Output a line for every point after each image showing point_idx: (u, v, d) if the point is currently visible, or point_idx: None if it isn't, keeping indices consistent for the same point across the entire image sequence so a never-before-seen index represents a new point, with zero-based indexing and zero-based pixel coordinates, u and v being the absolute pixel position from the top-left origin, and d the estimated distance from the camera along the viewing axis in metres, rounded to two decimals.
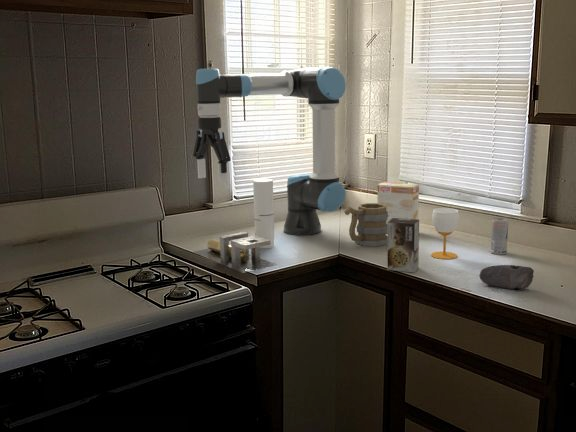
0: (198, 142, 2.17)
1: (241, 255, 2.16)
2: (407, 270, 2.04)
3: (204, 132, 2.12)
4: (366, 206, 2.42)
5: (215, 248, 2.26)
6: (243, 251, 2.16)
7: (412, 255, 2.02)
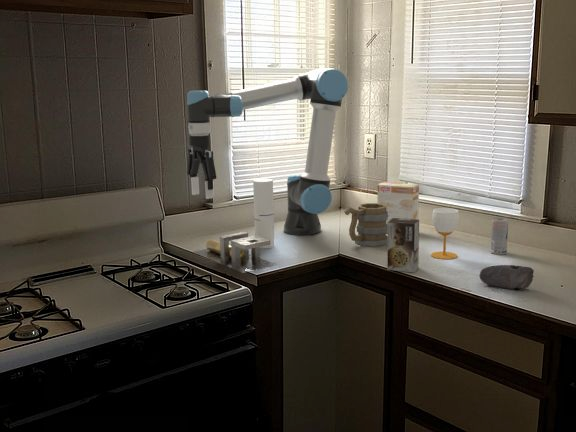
0: (190, 160, 2.34)
1: None
2: (407, 270, 2.04)
3: (194, 148, 2.30)
4: (366, 206, 2.42)
5: (214, 250, 2.26)
6: (241, 251, 2.16)
7: (412, 255, 2.02)
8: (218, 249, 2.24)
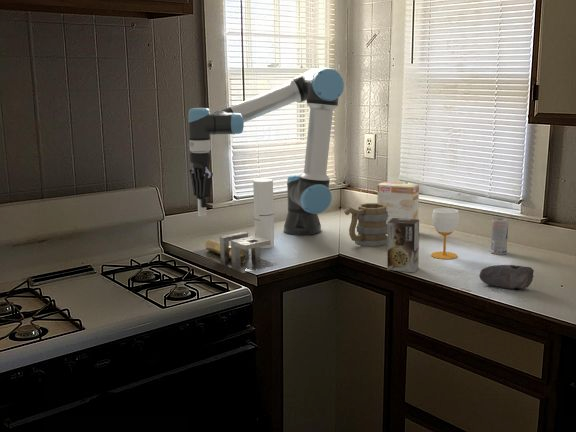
0: (194, 179, 2.34)
1: None
2: (407, 270, 2.04)
3: (194, 163, 2.31)
4: (366, 206, 2.42)
5: (213, 251, 2.26)
6: None
7: (412, 255, 2.02)
8: (217, 250, 2.24)
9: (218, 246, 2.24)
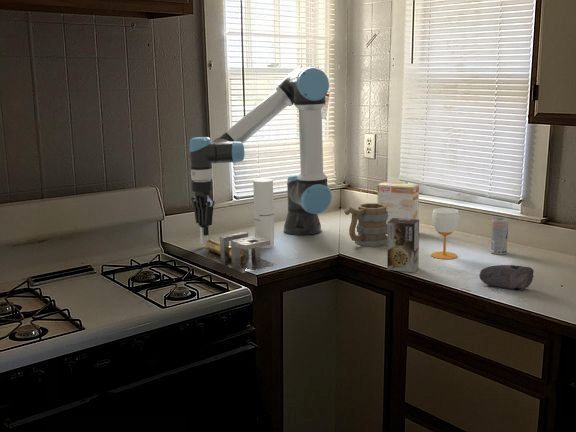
0: (196, 207, 2.36)
1: None
2: (407, 270, 2.04)
3: (196, 192, 2.33)
4: (366, 206, 2.42)
5: (213, 251, 2.26)
6: None
7: (412, 255, 2.02)
8: (217, 250, 2.24)
9: (218, 246, 2.24)
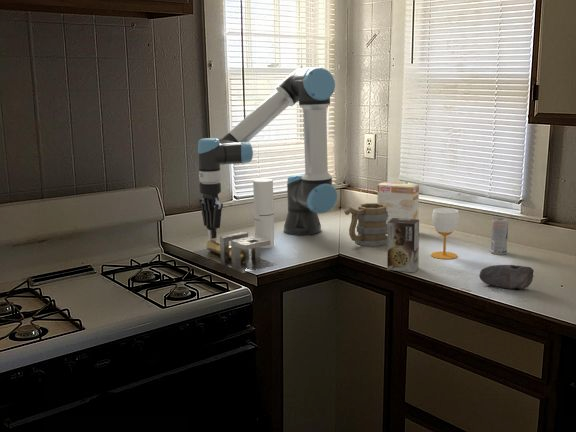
0: (204, 209, 2.31)
1: None
2: (407, 270, 2.04)
3: (204, 194, 2.29)
4: (366, 206, 2.42)
5: (215, 251, 2.26)
6: (240, 252, 2.15)
7: (412, 255, 2.02)
8: (218, 251, 2.23)
9: (219, 246, 2.23)
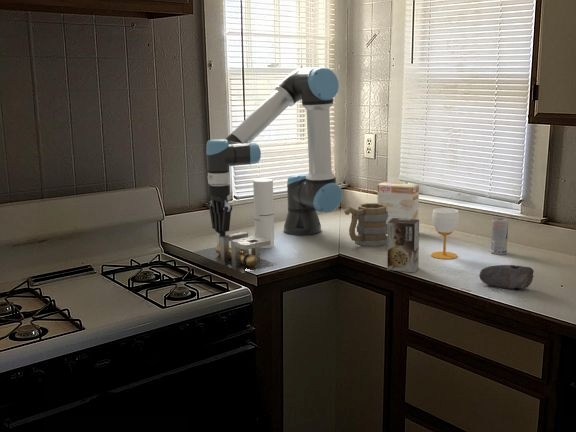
0: (212, 212, 2.27)
1: (250, 261, 2.10)
2: (407, 270, 2.04)
3: (213, 196, 2.24)
4: (366, 206, 2.42)
5: None
6: (251, 256, 2.10)
7: (412, 255, 2.02)
8: None
9: (229, 250, 2.18)
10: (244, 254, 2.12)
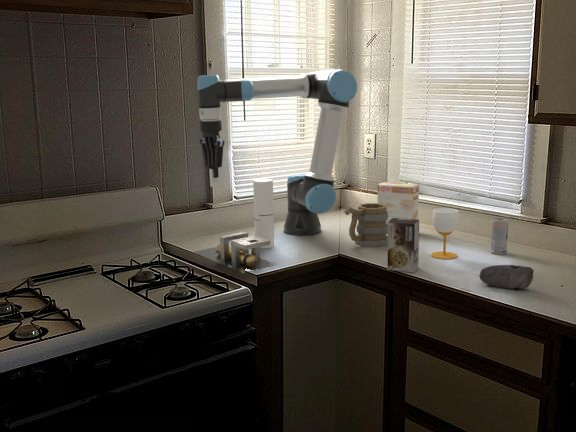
0: (204, 149, 2.28)
1: (250, 261, 2.10)
2: (407, 270, 2.04)
3: (205, 133, 2.26)
4: (366, 206, 2.42)
5: None
6: (251, 256, 2.10)
7: (412, 255, 2.02)
8: None
9: (229, 250, 2.18)
10: (244, 254, 2.12)
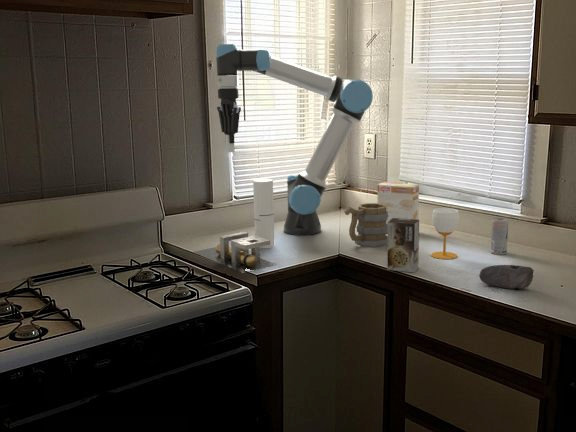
0: (221, 116, 2.39)
1: (250, 261, 2.10)
2: (407, 270, 2.04)
3: (222, 100, 2.36)
4: (366, 206, 2.42)
5: None
6: (251, 256, 2.10)
7: (412, 255, 2.02)
8: None
9: (229, 250, 2.18)
10: (244, 254, 2.12)
